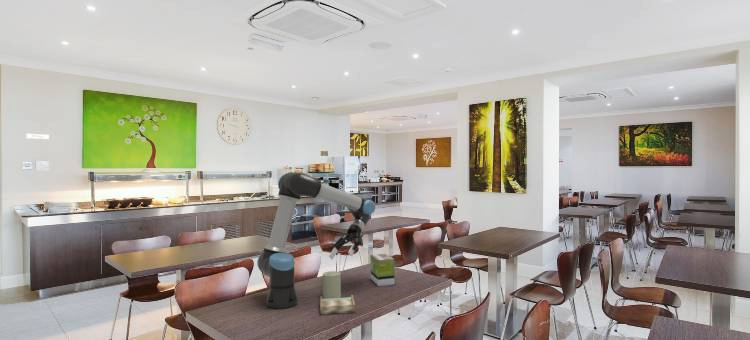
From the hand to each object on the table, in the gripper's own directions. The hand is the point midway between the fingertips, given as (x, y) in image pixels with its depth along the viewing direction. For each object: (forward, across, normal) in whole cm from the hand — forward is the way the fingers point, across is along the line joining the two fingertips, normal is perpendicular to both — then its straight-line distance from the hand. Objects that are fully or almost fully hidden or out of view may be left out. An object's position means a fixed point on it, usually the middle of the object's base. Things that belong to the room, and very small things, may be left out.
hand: (340, 256), depth 217 cm
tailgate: (+22, -4, -9) cm, 24 cm away
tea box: (-10, -3, -32) cm, 34 cm away
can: (+18, +4, -11) cm, 21 cm away
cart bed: (+29, -10, -7) cm, 31 cm away
